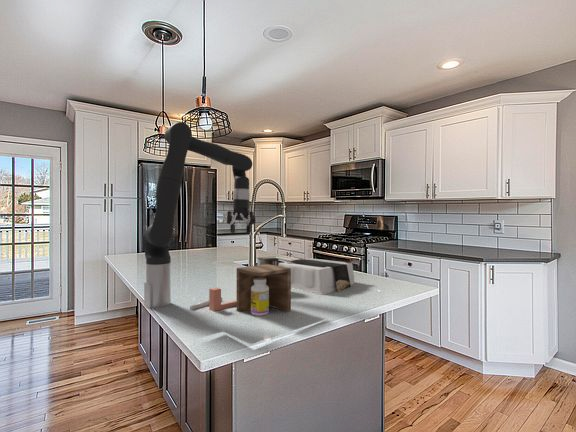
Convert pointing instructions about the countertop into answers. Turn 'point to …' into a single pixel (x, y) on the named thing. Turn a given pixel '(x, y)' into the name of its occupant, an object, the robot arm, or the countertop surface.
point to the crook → (218, 300)
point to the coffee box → (268, 261)
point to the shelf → (275, 280)
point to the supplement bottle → (259, 297)
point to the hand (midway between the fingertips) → (240, 233)
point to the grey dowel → (200, 305)
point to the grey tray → (320, 275)
